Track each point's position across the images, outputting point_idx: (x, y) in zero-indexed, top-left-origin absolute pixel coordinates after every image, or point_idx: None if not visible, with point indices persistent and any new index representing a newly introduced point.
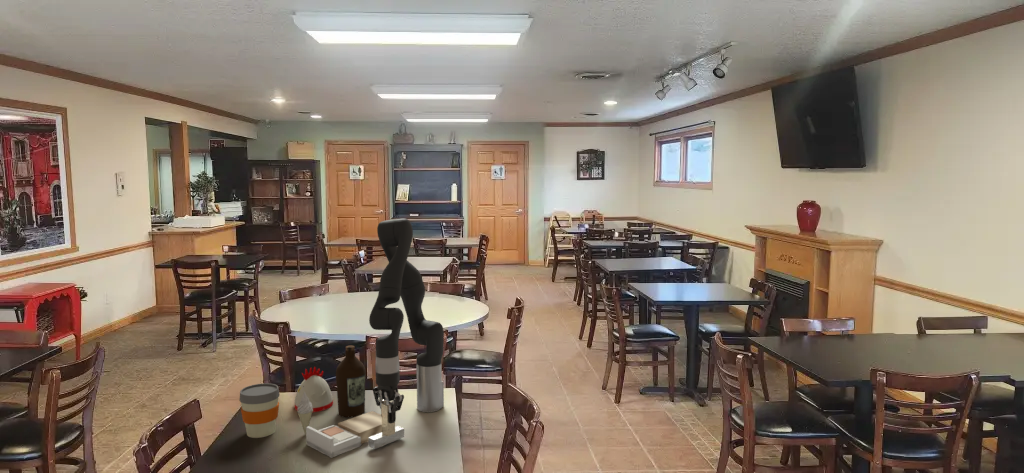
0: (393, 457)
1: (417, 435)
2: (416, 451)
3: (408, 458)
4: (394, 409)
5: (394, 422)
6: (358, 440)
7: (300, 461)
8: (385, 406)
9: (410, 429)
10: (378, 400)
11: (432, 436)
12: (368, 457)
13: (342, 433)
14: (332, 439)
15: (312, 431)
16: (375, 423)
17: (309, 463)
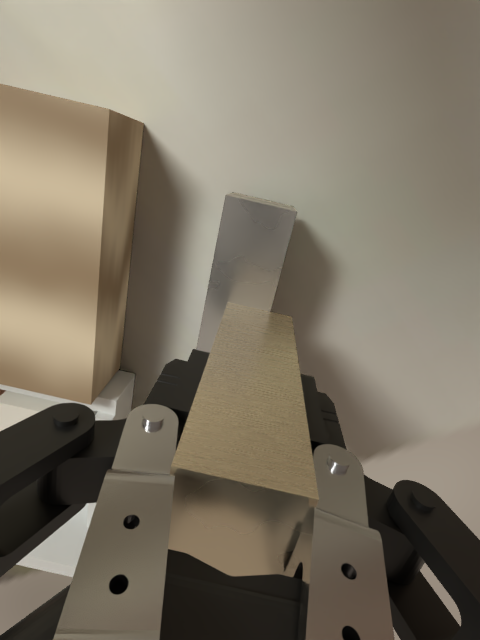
0: (362, 400)
1: (335, 92)
2: (448, 298)
3: (442, 379)
4: (414, 596)
5: (295, 358)
6: (120, 404)
7: None
8: (244, 571)
9: (224, 21)
10: (41, 533)
11: (456, 42)
12: None
13: (11, 425)
14: None
15: None
16: (51, 247)
17: None
